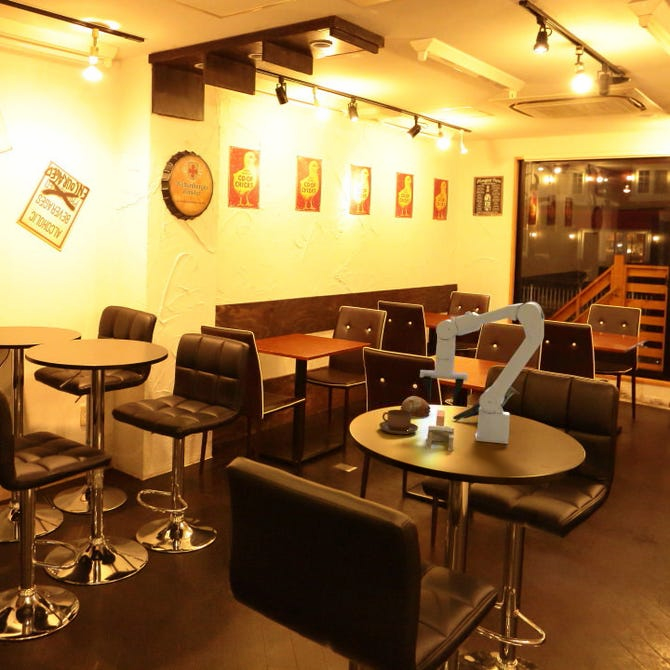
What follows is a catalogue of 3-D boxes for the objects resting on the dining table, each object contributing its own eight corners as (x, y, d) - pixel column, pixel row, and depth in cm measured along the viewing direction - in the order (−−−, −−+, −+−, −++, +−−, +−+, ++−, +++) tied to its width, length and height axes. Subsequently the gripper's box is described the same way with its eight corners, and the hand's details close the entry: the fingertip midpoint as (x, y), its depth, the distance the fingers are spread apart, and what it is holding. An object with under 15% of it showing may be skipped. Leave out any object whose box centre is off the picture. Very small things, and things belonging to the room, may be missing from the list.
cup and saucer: (374, 433, 220) (375, 414, 220) (384, 424, 232) (385, 406, 231) (412, 439, 217) (414, 419, 216) (421, 429, 228) (422, 410, 227)
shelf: (452, 439, 217) (454, 422, 217) (452, 451, 206) (454, 432, 205) (428, 437, 219) (429, 420, 218) (426, 448, 207) (427, 430, 206)
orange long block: (443, 429, 230) (445, 410, 229) (443, 435, 222) (444, 416, 221) (436, 428, 230) (437, 410, 229) (435, 434, 222) (436, 415, 221)
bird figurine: (454, 422, 235) (490, 372, 233) (449, 415, 245) (484, 367, 243) (487, 445, 236) (523, 395, 234) (481, 437, 246) (516, 389, 244)
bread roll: (405, 419, 254) (397, 399, 253) (432, 410, 252) (424, 389, 251) (404, 427, 244) (395, 405, 243) (432, 416, 242) (423, 394, 242)
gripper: (468, 358, 225) (465, 400, 227) (422, 354, 228) (419, 396, 230) (468, 362, 219) (465, 405, 220) (421, 358, 221) (417, 401, 223)
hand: (441, 401), depth 225 cm, fingers open, 7 cm apart
